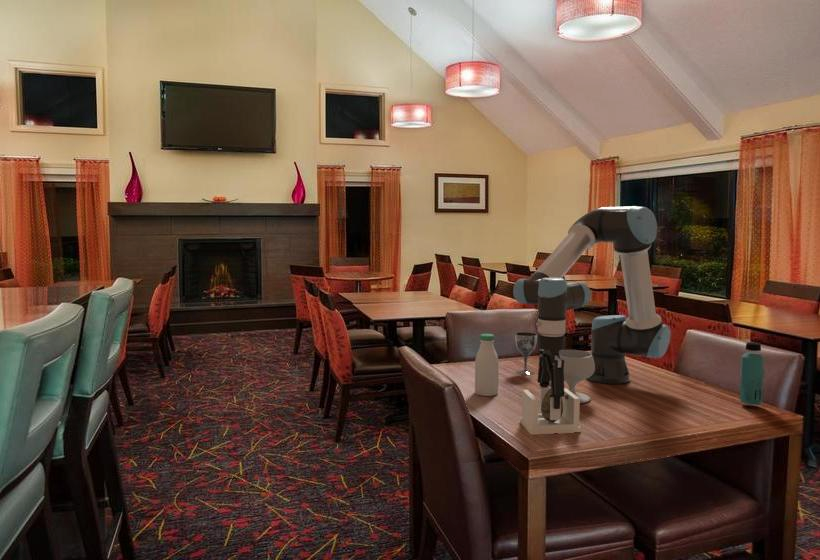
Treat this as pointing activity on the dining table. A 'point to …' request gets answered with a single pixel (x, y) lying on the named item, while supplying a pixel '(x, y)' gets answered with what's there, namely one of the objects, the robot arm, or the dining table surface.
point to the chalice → (577, 369)
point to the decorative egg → (548, 406)
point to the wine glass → (525, 348)
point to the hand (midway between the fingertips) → (549, 414)
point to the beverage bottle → (752, 375)
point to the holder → (541, 426)
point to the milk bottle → (486, 367)
